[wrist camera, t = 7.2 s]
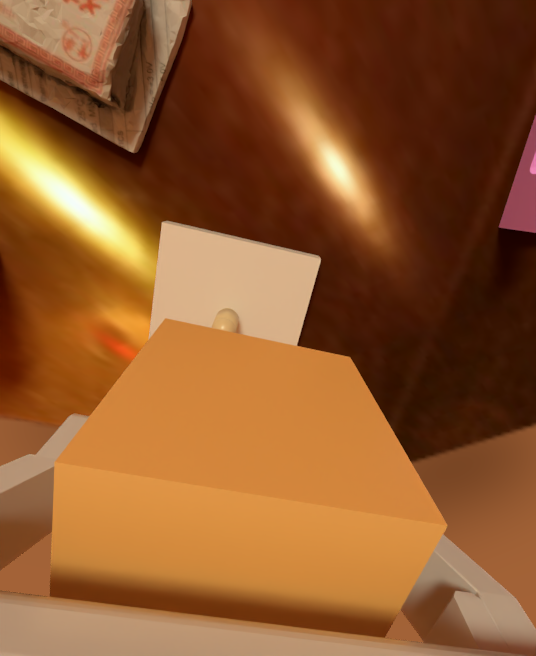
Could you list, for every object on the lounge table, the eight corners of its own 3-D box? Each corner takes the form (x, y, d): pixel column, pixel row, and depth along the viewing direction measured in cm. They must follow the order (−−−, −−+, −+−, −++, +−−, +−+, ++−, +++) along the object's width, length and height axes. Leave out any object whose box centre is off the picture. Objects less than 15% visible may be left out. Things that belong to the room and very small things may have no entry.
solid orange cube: (350, 357, 11) (447, 525, 5) (301, 495, 13) (334, 725, 7) (165, 318, 10) (54, 461, 5) (143, 469, 12) (46, 699, 7)
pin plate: (318, 255, 28) (330, 269, 22) (282, 384, 32) (285, 421, 27) (167, 220, 27) (143, 227, 21) (151, 358, 31) (127, 391, 26)
